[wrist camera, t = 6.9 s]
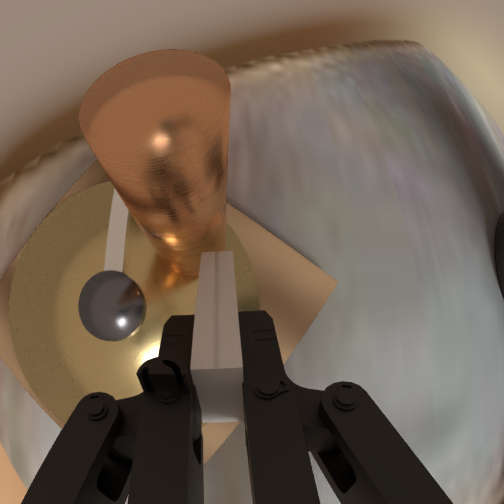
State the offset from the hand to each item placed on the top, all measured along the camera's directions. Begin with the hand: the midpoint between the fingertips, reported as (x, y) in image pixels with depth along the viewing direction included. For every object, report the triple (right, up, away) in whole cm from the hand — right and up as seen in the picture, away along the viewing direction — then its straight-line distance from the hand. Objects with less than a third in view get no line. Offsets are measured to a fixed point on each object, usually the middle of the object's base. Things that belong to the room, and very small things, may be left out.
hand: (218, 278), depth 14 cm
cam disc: (-7, -2, +4) cm, 8 cm away
